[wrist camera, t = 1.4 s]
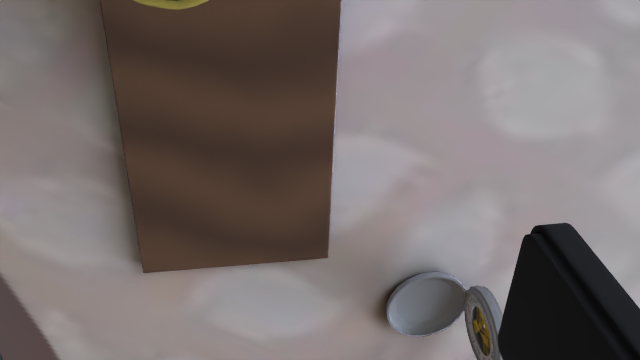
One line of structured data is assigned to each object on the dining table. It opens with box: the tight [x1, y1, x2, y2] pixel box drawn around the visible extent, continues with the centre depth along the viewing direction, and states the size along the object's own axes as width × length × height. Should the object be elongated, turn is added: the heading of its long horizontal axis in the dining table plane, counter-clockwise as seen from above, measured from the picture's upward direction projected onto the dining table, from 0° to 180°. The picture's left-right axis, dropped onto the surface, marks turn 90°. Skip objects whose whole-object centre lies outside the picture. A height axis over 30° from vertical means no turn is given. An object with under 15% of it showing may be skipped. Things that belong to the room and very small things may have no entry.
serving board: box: [100, 0, 342, 273], centre depth 38 cm, size 20×13×1 cm, turn 178°
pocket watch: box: [386, 272, 503, 360], centre depth 46 cm, size 8×8×10 cm
